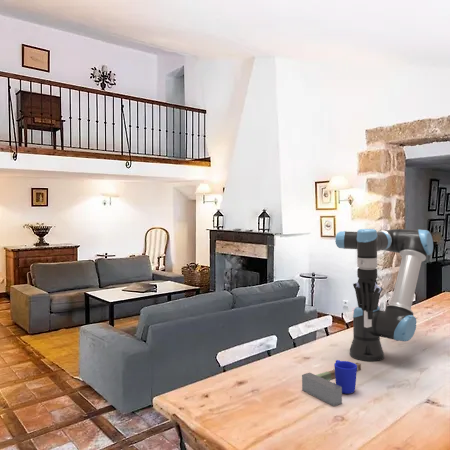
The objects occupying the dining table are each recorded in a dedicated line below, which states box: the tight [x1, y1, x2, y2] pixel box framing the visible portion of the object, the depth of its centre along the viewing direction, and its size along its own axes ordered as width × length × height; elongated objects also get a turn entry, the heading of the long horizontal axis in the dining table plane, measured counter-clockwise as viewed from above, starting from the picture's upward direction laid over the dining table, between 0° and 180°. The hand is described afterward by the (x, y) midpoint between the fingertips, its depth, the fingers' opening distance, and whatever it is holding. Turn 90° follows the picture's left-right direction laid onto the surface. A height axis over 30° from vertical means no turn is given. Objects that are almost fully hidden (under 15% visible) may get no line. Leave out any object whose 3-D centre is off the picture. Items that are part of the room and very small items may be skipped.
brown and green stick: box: [316, 362, 362, 381], centre depth 174 cm, size 2×30×3 cm, turn 123°
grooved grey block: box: [301, 372, 343, 407], centre depth 157 cm, size 16×5×6 cm, turn 33°
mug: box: [334, 359, 358, 395], centre depth 163 cm, size 8×12×10 cm
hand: (367, 326), depth 170 cm, fingers closed
